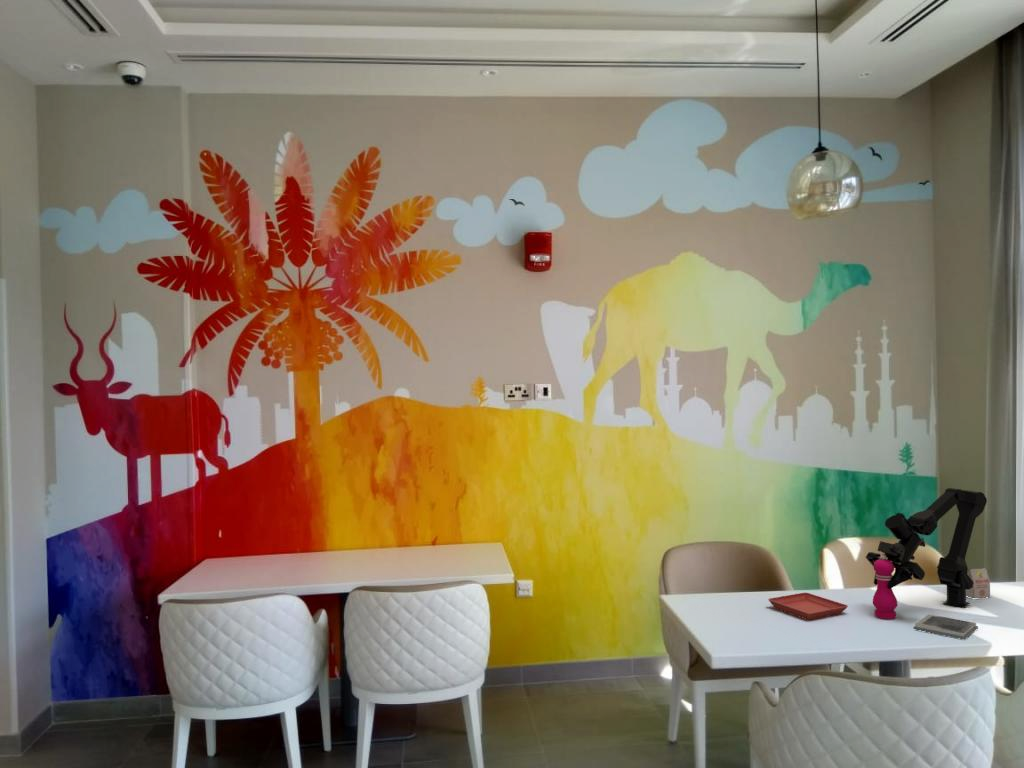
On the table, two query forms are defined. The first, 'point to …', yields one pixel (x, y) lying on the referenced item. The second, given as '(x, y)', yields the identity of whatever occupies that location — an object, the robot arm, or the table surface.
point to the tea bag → (979, 583)
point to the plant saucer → (807, 605)
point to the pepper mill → (884, 589)
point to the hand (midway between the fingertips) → (881, 586)
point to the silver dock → (946, 626)
